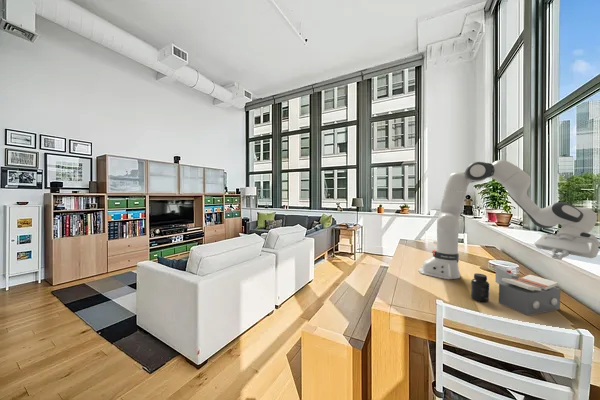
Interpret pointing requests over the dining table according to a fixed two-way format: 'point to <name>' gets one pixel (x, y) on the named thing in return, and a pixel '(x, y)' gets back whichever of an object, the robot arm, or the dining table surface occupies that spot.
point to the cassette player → (504, 274)
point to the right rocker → (539, 281)
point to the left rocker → (522, 284)
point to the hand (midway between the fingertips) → (556, 258)
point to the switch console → (529, 299)
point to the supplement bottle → (480, 288)
